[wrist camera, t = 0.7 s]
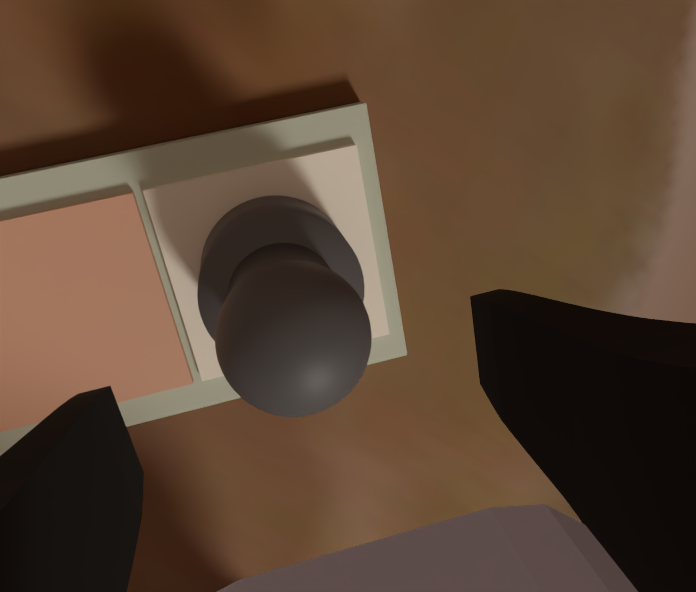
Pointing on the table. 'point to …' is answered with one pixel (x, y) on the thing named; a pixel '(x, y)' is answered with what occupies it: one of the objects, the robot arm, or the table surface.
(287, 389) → the pawn
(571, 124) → the table surface
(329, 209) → the board
